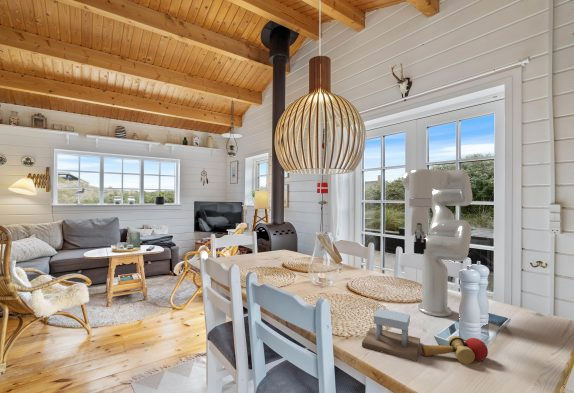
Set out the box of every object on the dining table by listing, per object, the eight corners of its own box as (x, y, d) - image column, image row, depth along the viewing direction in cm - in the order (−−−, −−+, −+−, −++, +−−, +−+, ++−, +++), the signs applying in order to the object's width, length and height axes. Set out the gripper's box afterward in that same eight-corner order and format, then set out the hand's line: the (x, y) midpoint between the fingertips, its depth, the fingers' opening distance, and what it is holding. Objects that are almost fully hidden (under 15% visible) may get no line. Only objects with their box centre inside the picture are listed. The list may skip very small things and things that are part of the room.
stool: (409, 338, 95) (409, 314, 95) (406, 348, 89) (407, 322, 89) (378, 331, 100) (378, 308, 100) (373, 340, 93) (373, 315, 93)
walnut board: (370, 331, 103) (370, 327, 103) (420, 342, 95) (420, 338, 95) (361, 346, 92) (361, 342, 92) (416, 360, 85) (416, 355, 85)
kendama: (429, 368, 83) (496, 364, 81) (425, 345, 85) (491, 340, 83) (421, 358, 91) (482, 354, 89) (417, 337, 92) (477, 332, 90)
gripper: (411, 203, 114) (411, 246, 114) (406, 204, 98) (405, 254, 99) (433, 203, 110) (432, 248, 110) (430, 204, 95) (430, 256, 95)
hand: (420, 251), depth 104 cm, fingers open, 9 cm apart
